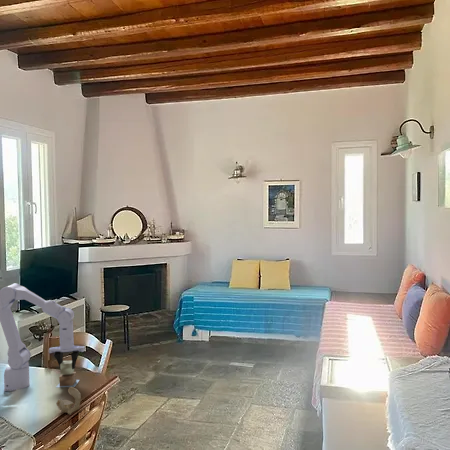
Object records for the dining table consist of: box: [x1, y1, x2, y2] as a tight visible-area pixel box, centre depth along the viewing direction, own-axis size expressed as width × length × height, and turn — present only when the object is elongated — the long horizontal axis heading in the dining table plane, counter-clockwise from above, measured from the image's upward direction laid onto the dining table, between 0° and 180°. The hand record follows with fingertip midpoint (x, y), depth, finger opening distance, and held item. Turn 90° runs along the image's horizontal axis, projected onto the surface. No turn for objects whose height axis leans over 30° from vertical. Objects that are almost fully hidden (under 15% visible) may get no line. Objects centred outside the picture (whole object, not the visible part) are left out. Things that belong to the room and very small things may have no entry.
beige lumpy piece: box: [56, 387, 82, 416], centre depth 168 cm, size 9×6×10 cm
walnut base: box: [58, 371, 77, 386], centre depth 195 cm, size 6×6×4 cm
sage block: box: [59, 359, 75, 375], centre depth 195 cm, size 4×4×4 cm
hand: (67, 368), depth 195 cm, fingers closed on sage block, 4 cm apart
